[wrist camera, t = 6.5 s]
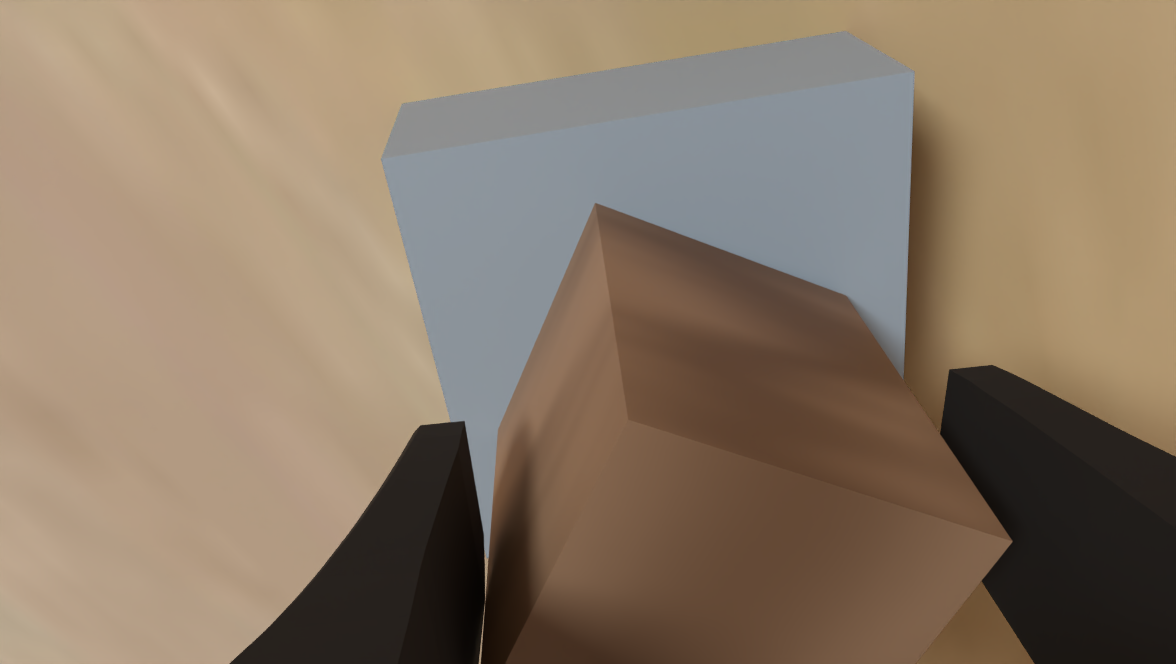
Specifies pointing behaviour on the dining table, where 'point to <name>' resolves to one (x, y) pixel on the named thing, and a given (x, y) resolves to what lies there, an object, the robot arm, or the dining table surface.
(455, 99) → the base block
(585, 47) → the dining table surface
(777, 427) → the walnut block
